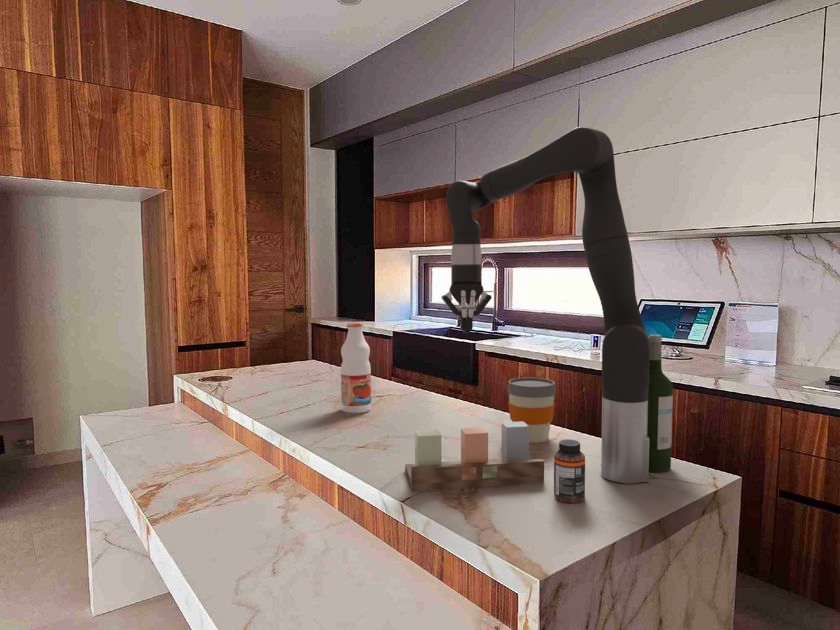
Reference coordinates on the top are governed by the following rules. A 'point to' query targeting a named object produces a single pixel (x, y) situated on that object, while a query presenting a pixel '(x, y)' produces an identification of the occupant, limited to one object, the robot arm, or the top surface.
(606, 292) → the robot arm
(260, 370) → the top surface
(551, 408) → the reusable coffee cup
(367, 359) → the fruit juice
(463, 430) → the terracotta key
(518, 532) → the top surface
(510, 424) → the slate key
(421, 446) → the sage key
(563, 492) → the supplement bottle
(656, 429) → the wine bottle
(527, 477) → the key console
